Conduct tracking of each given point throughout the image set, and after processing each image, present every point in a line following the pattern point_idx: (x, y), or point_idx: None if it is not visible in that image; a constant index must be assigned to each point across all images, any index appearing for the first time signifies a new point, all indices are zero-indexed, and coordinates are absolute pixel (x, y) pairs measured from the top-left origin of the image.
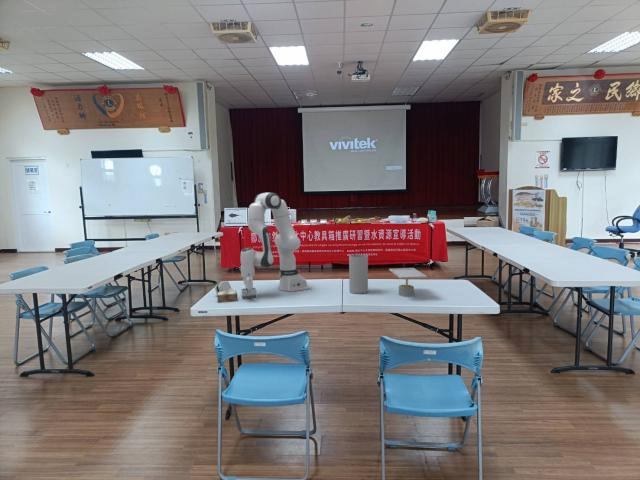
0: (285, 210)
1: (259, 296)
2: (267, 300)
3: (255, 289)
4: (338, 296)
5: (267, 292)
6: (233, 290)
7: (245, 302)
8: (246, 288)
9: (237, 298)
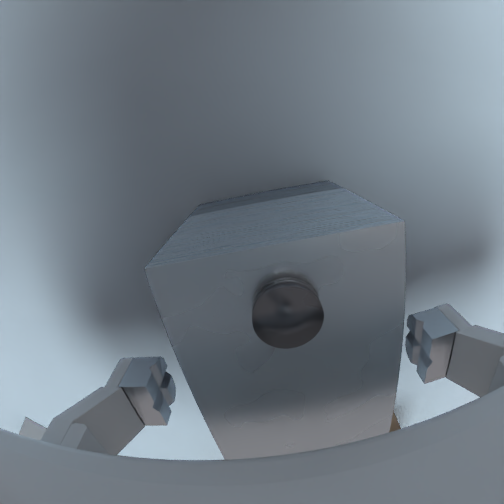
0: None
1: (220, 126)
2: (478, 39)
3: (403, 241)
4: None
5: (11, 52)
6: (26, 430)
7: (486, 320)
8: (227, 455)
9: (399, 427)
